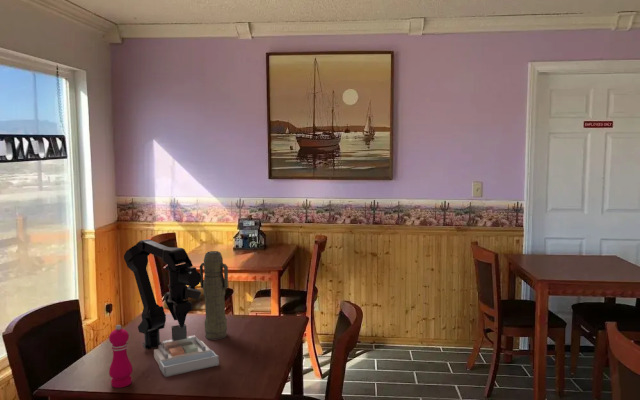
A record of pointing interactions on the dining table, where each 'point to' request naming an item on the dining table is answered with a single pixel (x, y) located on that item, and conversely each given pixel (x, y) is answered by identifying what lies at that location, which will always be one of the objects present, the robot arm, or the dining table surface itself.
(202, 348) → the white shallow box
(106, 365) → the dining table surface
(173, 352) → the terracotta tile
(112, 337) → the pepper mill
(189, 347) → the sage tile
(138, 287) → the robot arm
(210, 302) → the thermos
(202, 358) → the tray
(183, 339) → the grey panel
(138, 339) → the dining table surface
